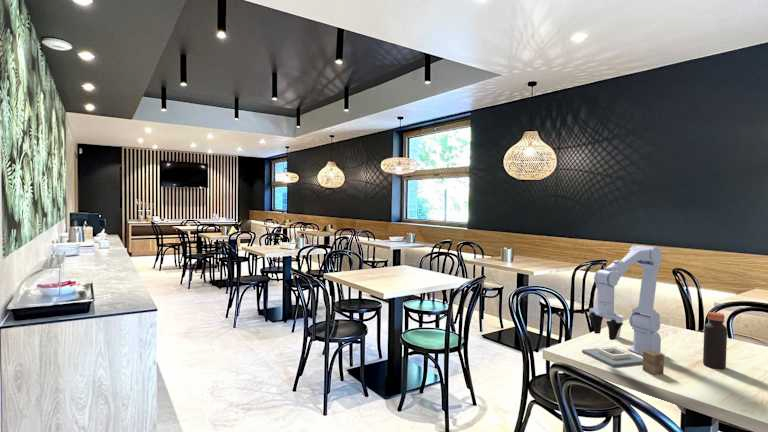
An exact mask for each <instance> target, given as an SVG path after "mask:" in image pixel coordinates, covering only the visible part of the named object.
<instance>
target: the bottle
mask: <svg viewBox="0 0 768 432" xmlns="http://www.w3.org/2000/svg"><path fill="white" fill-rule="evenodd" d="M707 320H708V322H707V323H705V324H704V326H703V327H704V328H703V352H702V355H703V356H702V364H703V365H704V366H705V367H708V368H710V369H716V370H725V369H726V368H727V345H728V343H727V342H728V328H727V327H726V326H725V325H724V323H725V314H724V313H721V312H714V311H708V312H707Z"/></svg>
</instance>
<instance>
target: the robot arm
mask: <svg viewBox="0 0 768 432" xmlns="http://www.w3.org/2000/svg"><path fill="white" fill-rule="evenodd" d="M662 260H663V252H662V250H661V249H660V248H659V246H647V245H639V244H638V245H637V244H633V245H632V246H631V247H630V248H629V250H628V253H627V254H626V255H625V256H624V257H622V259H621V260H618V259H617V260H613V261H612V263H610V264H609V265H608V266H606V267H605V268H603V269H599V270H597V271H596V272H595V274H594V276H593V280H594V282H595V287H596V289H597V294H596V295H597V297H596V308H595V307H590V308H589V314H588V318H589V320H590V323H591V324H592V329H593V332H594V334H595V335H597V334H601V331H602V323H603V320H604V319H608V320H607V321H606V325H607V327H608V338H609V340H610V341H615V340H616V339H617V338H616V336H617V333H618V331H619V329H620V327H621V328H622V326H623V324H624V322H623V319H622V317H619V316H618V315H619V314H617V315H616V313H615V287H616V286H617V285H618V283H619V281H620V279H621V277H623V276H624V275H625V274H626V273H628V271H629V270H628V269H629V267H631V266H632V265H634V264H637V265H639V266H641V268H642V276H641V281H640V282H641V283H640V291H639V298H638V299H639V300H638V304H637V306H635V307H634V308H632V309H631V313H630V316H629V319H628V322H629V325H630V327H631V329H632V330H633V346H632V347H630V348H628V350H629V351H631V352H633V353H635V354H638V355H640V356H643V351H651V350H654V351H656V352H659V353H661V354H663V352H662V351H661V348H662V347H661V346H662V339H661V338H662V337H661V335H660V332H659V330H660V328H661V321H660V320H661V319H660V318H661V316H660V313H658V312H657V311H656V310H655V309H654V304H655V297H656V287H657V281H658V273H659V268H661V266H662ZM609 319H610V320H611V321H609Z"/></svg>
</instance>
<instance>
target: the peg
mask: <svg viewBox="0 0 768 432" xmlns="http://www.w3.org/2000/svg"><path fill="white" fill-rule="evenodd" d="M661 353H662V352H661ZM661 353H659V352H656V351H654V350H651V351H643V355H642V359H643V364H642V371H643V372H646V373H649V374H650V375H653V376H655V375H663V374H664V370H665V369H664V367H665V354H664V353H662V354H661Z"/></svg>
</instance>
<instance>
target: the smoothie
mask: <svg viewBox="0 0 768 432" xmlns="http://www.w3.org/2000/svg"><path fill="white" fill-rule="evenodd" d="M618 308H619V306H616V307H615V314H616V315H618V316H619V317H622V320H624V316H623V315H621V314H618V313H619V309H618ZM608 321H611V320H610V319H608ZM621 329H622V326H621V327H620V329H619V331H618V333H617V336H616V339H619V338H620V336H621V331H622V330H621Z"/></svg>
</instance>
